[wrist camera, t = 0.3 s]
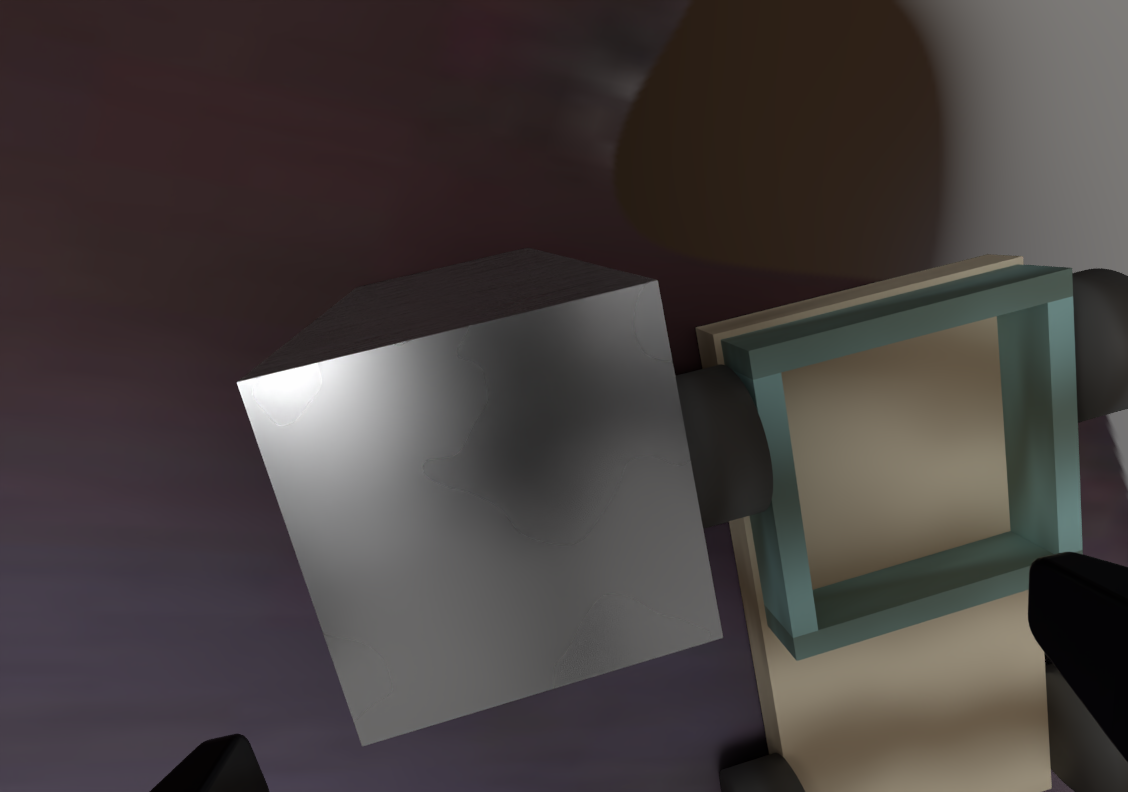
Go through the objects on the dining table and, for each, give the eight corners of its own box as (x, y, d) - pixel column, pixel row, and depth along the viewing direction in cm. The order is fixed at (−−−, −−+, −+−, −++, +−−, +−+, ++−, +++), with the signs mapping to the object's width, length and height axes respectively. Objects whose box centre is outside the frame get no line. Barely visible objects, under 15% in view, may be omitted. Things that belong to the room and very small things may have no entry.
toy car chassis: (1066, 744, 29) (1173, 833, 25) (734, 856, 28) (788, 970, 23) (1042, 240, 24) (1172, 243, 20) (633, 343, 22) (679, 370, 18)
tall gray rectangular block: (564, 409, 23) (723, 638, 10) (404, 451, 22) (362, 746, 10) (528, 247, 21) (657, 281, 9) (356, 287, 21) (236, 381, 8)
